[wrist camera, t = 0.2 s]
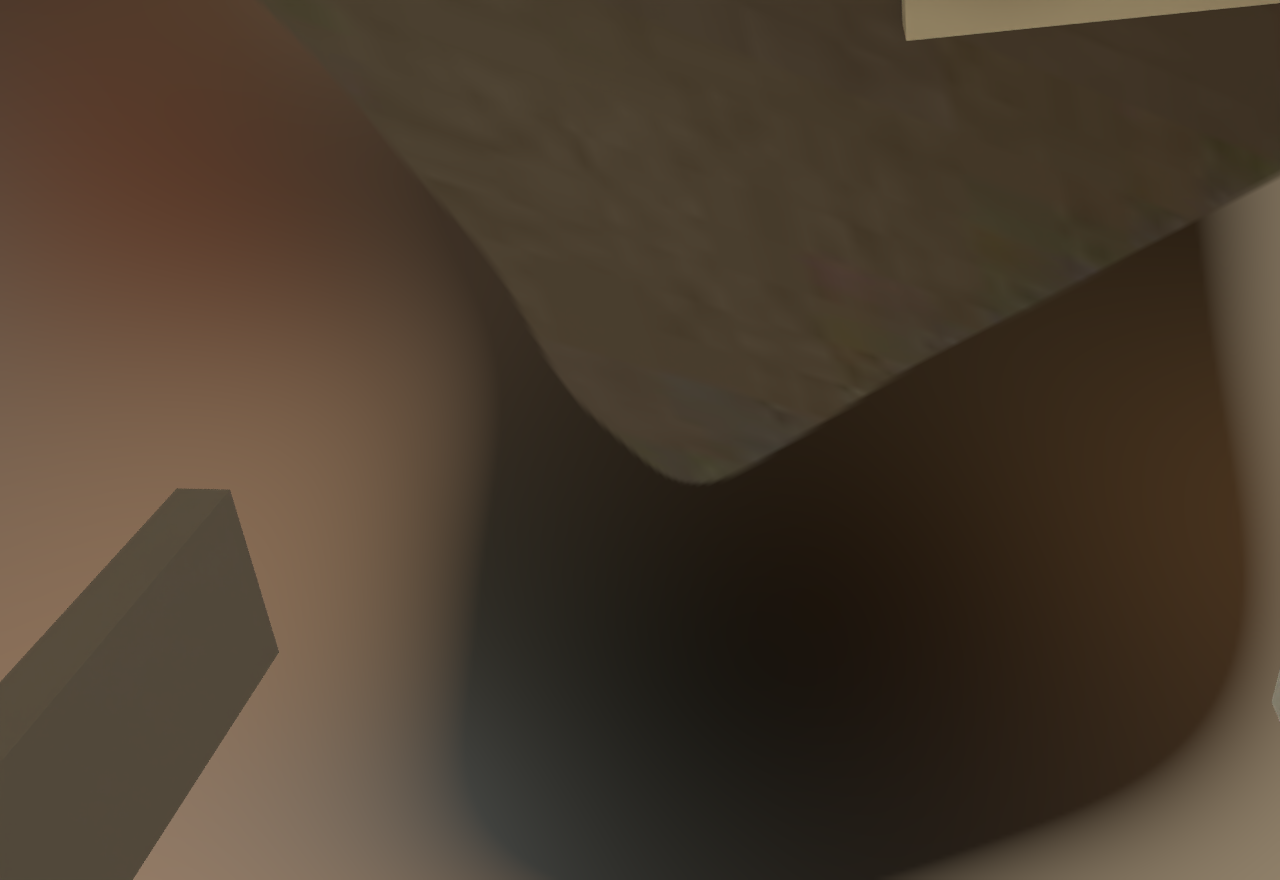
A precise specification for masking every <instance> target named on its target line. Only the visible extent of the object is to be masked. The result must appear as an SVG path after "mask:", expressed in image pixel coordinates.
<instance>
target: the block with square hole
mask: <svg viewBox="0 0 1280 880" xmlns="http://www.w3.org/2000/svg"><path fill="white" fill-rule="evenodd" d="M1274 3H1280V0H902V24H903V28H904V33H905V37H906V41H910V40H920V39H929V38H939V37H949V36H959V35H969V34H979V33H988V32H998V31H1008V30H1018V29H1028V28H1038V27H1047V26H1057V25H1067V24H1077V23H1087V22H1097V21H1106V20H1116V19H1126V18H1136V17H1146V16H1156V15H1165V14H1175V13H1185V12H1195V11H1205V10H1215V9H1224V8H1234V7H1244V6H1254V5H1264V4H1274Z"/></svg>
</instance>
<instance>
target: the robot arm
mask: <svg viewBox="0 0 1280 880" xmlns="http://www.w3.org/2000/svg"><path fill="white" fill-rule="evenodd" d="M278 653H279V651H278V647H277V644H276V641H275V637H274V634H273V631H272V627H271V625H270V621H269V618H268V614H267V611H266V608H265V604H264V601H263V598H262V595H261V591H260V588H259V584H258V581H257V578H256V574H255V571H254V568H253V564H252V561H251V558H250V555H249V551H248V548H247V545H246V541H245V538H244V535H243V531H242V528H241V525H240V522H239V518H238V515H237V512H236V509H235V505H234V502H233V498H232V495H231V492H230V490H218V489H217V490H216V489H176V490H175V491H174V492H173V493H172V494H171V496H170V497H169V498H168V499H167V500H166V501H165V502H164V503H163V504H162V506H161V507H160V508H159V509H158V510H157V511H156V512H155V513H154V514H153V515H152V516H151V518H150V519H149V520H148V521H147V522H146V523H145V524H144V525H143V526H142V527H141V528H140V529H139V531H138V532H137V533H136V534H135V535H134V536H133V537H132V538H131V539H130V540H129V542H128V543H127V544H126V545H125V546H124V547H123V548H122V549H121V550H120V551H119V553H118V554H117V555H116V556H115V557H114V558H113V559H112V560H111V561H110V563H109V564H108V565H107V566H106V567H105V568H104V569H103V570H102V571H101V572H100V573H99V574H98V576H97V577H96V578H95V579H94V580H93V581H92V582H91V583H90V585H89V586H88V587H87V588H86V589H85V590H84V591H83V592H82V593H81V594H80V595H79V597H78V598H77V599H76V600H75V601H74V602H73V603H72V604H71V605H70V606H69V608H67V610H66V611H65V612H64V613H63V614H62V615H61V616H60V617H59V618H58V619H57V620H56V622H55V623H54V624H53V625H52V626H51V627H50V628H49V629H48V630H47V631H46V633H45V634H44V635H43V636H42V637H41V638H40V639H39V640H38V641H37V642H36V643H35V645H34V646H33V647H32V648H31V649H30V650H29V651H28V652H27V653H26V654H25V656H24V657H23V658H22V659H21V660H20V661H19V662H18V663H17V664H16V665H15V667H14V668H13V669H12V670H11V671H10V672H9V673H8V674H7V675H6V676H5V678H4V679H3V680H2V681H1V682H0V880H133V878H134V877H135V875H136V874H137V872H138V870H139V869H140V867H141V866H142V864H143V863H144V861H145V860H146V858H147V857H148V855H149V854H150V852H151V850H152V849H153V847H154V846H155V844H156V843H157V841H158V840H159V838H160V836H161V835H162V833H163V832H164V830H165V829H166V827H167V826H168V824H169V822H170V821H171V819H172V818H173V816H174V815H175V813H176V812H177V810H178V808H179V807H180V805H181V804H182V802H183V801H184V799H185V797H186V796H187V794H188V793H189V791H190V790H191V788H192V787H193V785H194V783H195V782H196V780H197V779H198V777H199V776H200V774H201V773H202V771H203V769H204V768H205V766H206V765H207V763H208V762H209V760H210V758H211V757H212V755H213V754H214V752H215V751H216V749H217V748H218V746H219V744H220V743H221V741H222V740H223V738H224V737H225V735H226V734H227V732H228V730H229V729H230V727H231V726H232V724H233V723H234V721H235V720H236V718H237V717H238V715H239V713H240V712H241V710H242V709H243V707H244V706H245V704H246V703H247V701H248V699H249V698H250V696H251V694H252V693H253V692H254V690H255V689H256V687H257V685H258V684H259V682H260V681H261V679H262V678H263V676H264V675H265V673H266V671H267V670H268V668H269V667H270V665H271V663H272V662H273V661H274V659H275V657H276V656H277V654H278ZM1272 704H1273V707H1274V709H1275V712H1276V714H1277V717H1278V719H1279V722H1280V670H1279V674H1278V679H1277V683H1276V687H1275V691H1274V695H1273V699H1272Z"/></svg>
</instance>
